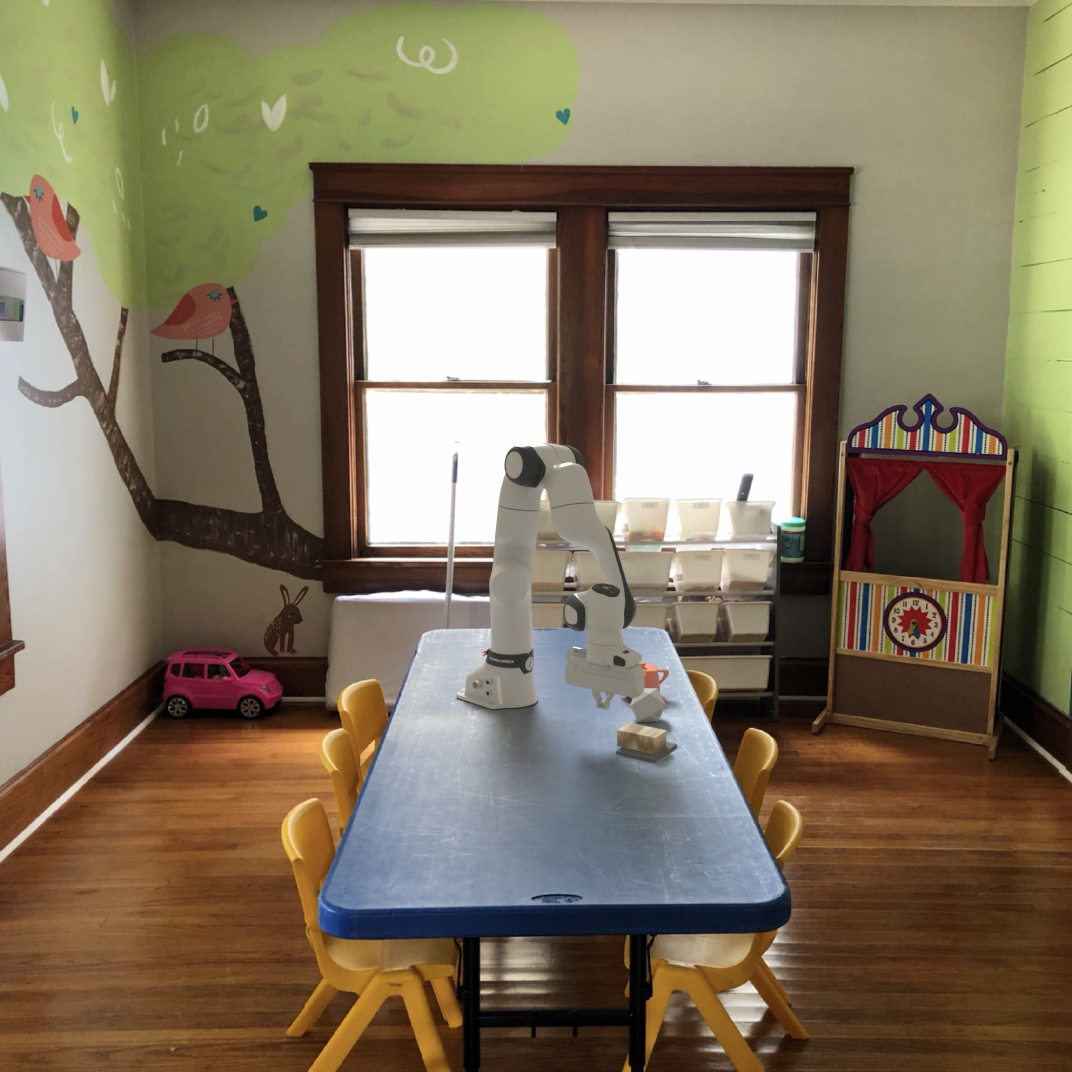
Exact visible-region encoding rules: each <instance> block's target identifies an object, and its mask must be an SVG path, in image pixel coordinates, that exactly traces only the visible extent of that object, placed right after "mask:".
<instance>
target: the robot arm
mask: <svg viewBox="0 0 1072 1072" xmlns="http://www.w3.org/2000/svg"><path fill="white" fill-rule="evenodd" d="M503 465H504V472H505V473H504V476H503V479H502V483H501V487H500V491H499V497H498V505H497V512H496V514H497V515H496V523H495V531H494V532H495V533H494V544H493V545H494V548H493V560H492V568H491V573H490V577H489V581H488V582H489V588H488V589H489V613H490V614H489V616H490V647H489V648H488V649H487V650H485V651H482V652H481V653H483V654H482V657H484V656H486V658H485V661H484V662H482V663H481V664H479V665H478V666H477V667H475V668H474V669H473V670H471V671H470V672H469V673H468V674H467V676H466V679H465V684H464V687H463V688H460V690H458V691H457V692H456V698H457V699H460V700H463V701H466V702H470V703H472V704H475V705H478V706H481V707H485V708H487V709H490V710H500V709H501V710H502V709H516V708H524V707H525V708H526V707H529V706H531V705H532V706H533V705H534V704H536V703H537V702H538V700H539V698H538V695H537V690H536V685H535V680H534V679H535V678H534V664H535V662H534V659H535V658H534V648H533V609H532V608H533V607H532V606H533V604H532V603H533V602H532V601H533V600H532V599H533V597H532V595H533V594H532V593H533V591H532V590H533V587H532V585H533V574H534V568H535V555H536V549H537V548H536V547H537V539H538V531H539V523H540V522H539V521H540V519H539V518H540V513H541V503H542V502H541V499H542V493H543V492H544V490H546V492H547V494H548V500H549V509H550V517H551V523H552V526H553V529H554V531H555V533H556V534H557V536H559V537H560V538H561V539H562V540H563V541H565V542H568V543H569V544H572V545H575V546H578V547H580V548H584V549H586V550H588V551H590V552H591V553H592V554H593V555H594V556H595V557H596V558H597V560H598V564H599V566H600V570H601V573H602V577H603V580H604V581H603V583H602V582H601V583H596V584H593V585H592V586H590V587H589V589H587V590H586V591H580V592H576V593H573V594H569V596H568V597H567V598H566V600H565V601H564V605H563V614H562V615H563V621H564V623H565V624H566V625H567V626H568V627H569V628H570V629H571V630H572V631H573V632H574V631H575V632H577V633H578V632H581V633H583V632H585V633H586V641H585V644H586V645H585V648H581V647H577V646H572V647H571V648H569V649H568V650H567V651H566V652H567V653H566V666H565V672H564V680H565V682H566V684H567V685H571V686H575V687H581V688H585V689H589V690H591V694H592V696H593V699H594V700H595V706H596V708H597V709H603V710H609V709H610V707H611V701H612V700H613V699H614V697H615V695H617V696H623V697H627V698H630V697H631V698H636V697H638V696H640V695H641V694H642V693H643V691H644V673H643V669H642V667H641V665H639V663H640V662H643V657H642V656H643V655H642V654H641V653H640V652H638V651H635V650H634V649H632V648H630V647H628V645H625V644H624V637H623V630H625V629H627V628H628V627H629V626H630V625H631V623H633V621H634V619H635V617H636V615H637V605H636V601H635V598H634V596H633V594H632V592H631V590H630V587H629V584H628V582H627V578H626V574H625V571H624V568H623V565H622V561H621V559H620V555H619V551H618V548H617V545H616V542H615V540H614V536H613V534H612V532H611V530H610V529H609V527H607V526H605V525H604V524H603V523H602V521H601V519H600V517H599V516H598V513H597V510H596V506H595V498H594V493H593V490H592V489H593V488H592V486H591V482H590V479H589V476H588V475H589V474H588V472H587V471H586V469H585V467H584V466H585V463H584V457H583V455H582V453H581V452H580V451H579V450H578V449H577V448H575V447H573V446H570V445H567V444H562V445H561V444H557V443H549V442H548V443H534V444H529V443H523V444H517V445H515V446H513V447H511V448H510V449H509V450H508V451H507V453H506V455H505V458H504V464H503ZM602 692H604V693H605V697H606V698H605V699H603V698H602V695H601V693H602Z"/></svg>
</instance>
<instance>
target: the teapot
mask: <svg viewBox="0 0 1072 1072" xmlns="http://www.w3.org/2000/svg"><path fill="white" fill-rule="evenodd" d="M639 665H641V667H642V669H643V673H644V688H658V690H659V692H660V693H661V684H663V682H664V681H665V680H666V679H667V678H668V677H669V675H670V671H669V670H668V669H666V668H657V666H656V664H652V663H647V662H645V661H641V662H640V663H639ZM659 673H663V675H662V677H661V678H660V677H659ZM632 699H633V698H631V697H629V700H630V701H632Z"/></svg>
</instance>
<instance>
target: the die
mask: <svg viewBox="0 0 1072 1072" xmlns="http://www.w3.org/2000/svg"><path fill="white" fill-rule="evenodd" d="M629 707H630V709H631V711H632V713H633V715H634V717H635V719H636V721H637V723H659V721H660V719H661V717H662V714H663V712H664V710H665V707H666V703H665V700H664V699H663V697H662V694H661V691H660V692H659V690H658V688H644V691H643V693H642V694H641V695H640V696H638V697H636V698H633V699H632V700H631V702H630V704H629Z"/></svg>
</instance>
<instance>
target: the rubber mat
mask: <svg viewBox="0 0 1072 1072" xmlns="http://www.w3.org/2000/svg"><path fill="white" fill-rule="evenodd" d="M677 747H678V744H677V743H674V742H669V741H666V747H665V748H664V749H662V750H661V751H659V752H658V753H656V754H651V753H646V752H642V751H637V750H633V749H628V748H624V747H620V748H618V749H617V750H616V751H615V754H617V755H621V756H626V757H630V758H633V759H638V760H643V761H647V762H652V763H656V762H657V761H658V760H660V759H662V758H663V757H664V756H666V755H667V754H669V753H670V752H671V751H673V750H674V749H676V748H677Z"/></svg>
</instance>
